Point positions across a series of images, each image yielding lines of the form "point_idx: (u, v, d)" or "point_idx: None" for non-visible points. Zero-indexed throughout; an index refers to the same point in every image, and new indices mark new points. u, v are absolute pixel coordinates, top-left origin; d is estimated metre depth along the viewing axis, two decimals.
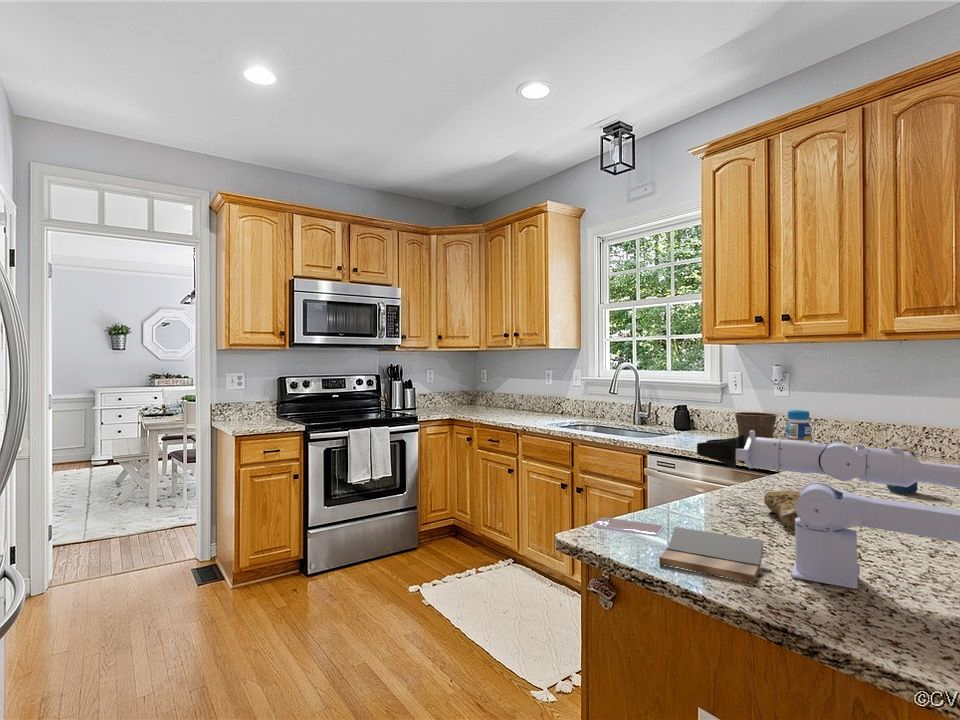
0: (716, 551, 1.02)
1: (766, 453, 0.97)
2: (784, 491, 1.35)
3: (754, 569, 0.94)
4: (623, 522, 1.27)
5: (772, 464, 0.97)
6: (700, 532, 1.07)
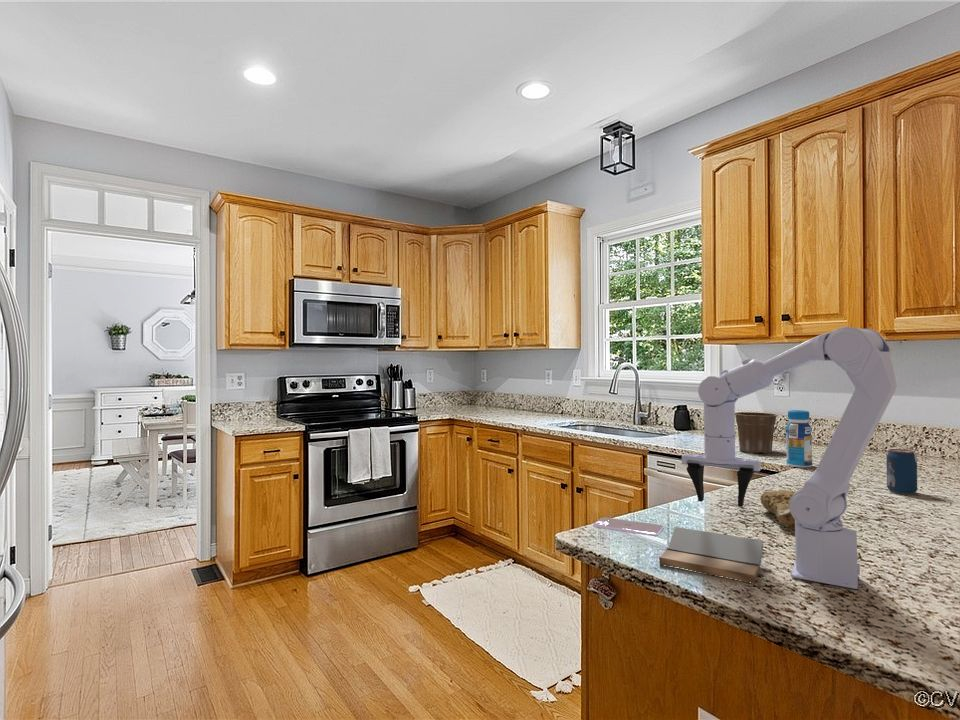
0: (716, 551, 1.02)
1: None
2: (780, 491, 1.35)
3: (754, 569, 0.94)
4: (623, 522, 1.27)
5: (705, 440, 1.09)
6: (700, 532, 1.07)
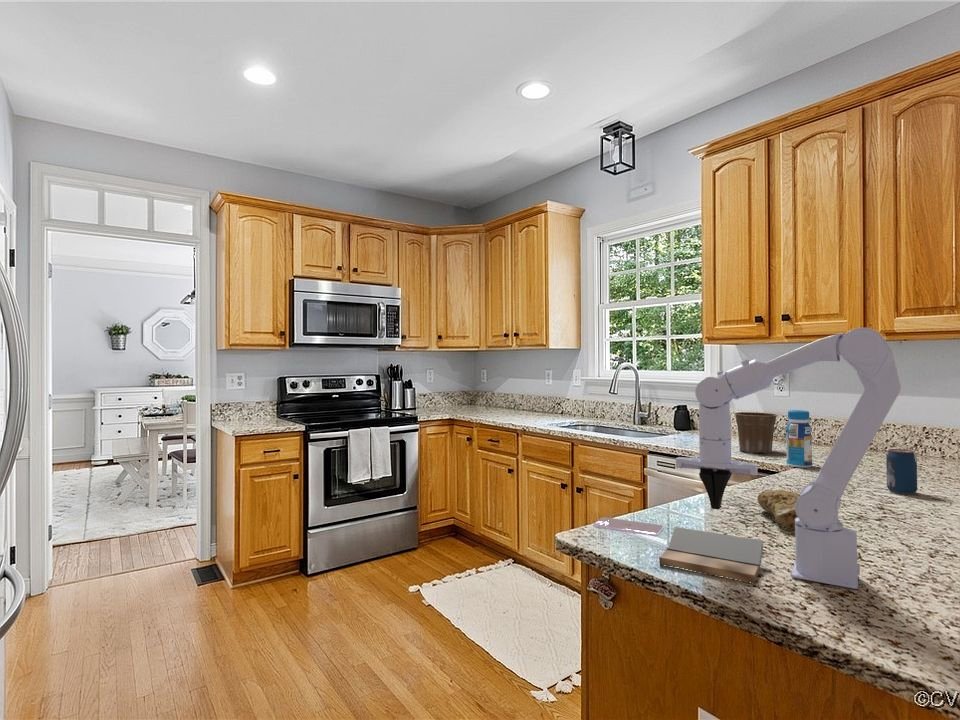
0: (716, 551, 1.02)
1: None
2: (777, 491, 1.36)
3: (754, 569, 0.94)
4: (623, 522, 1.27)
5: (700, 443, 1.05)
6: (700, 532, 1.07)
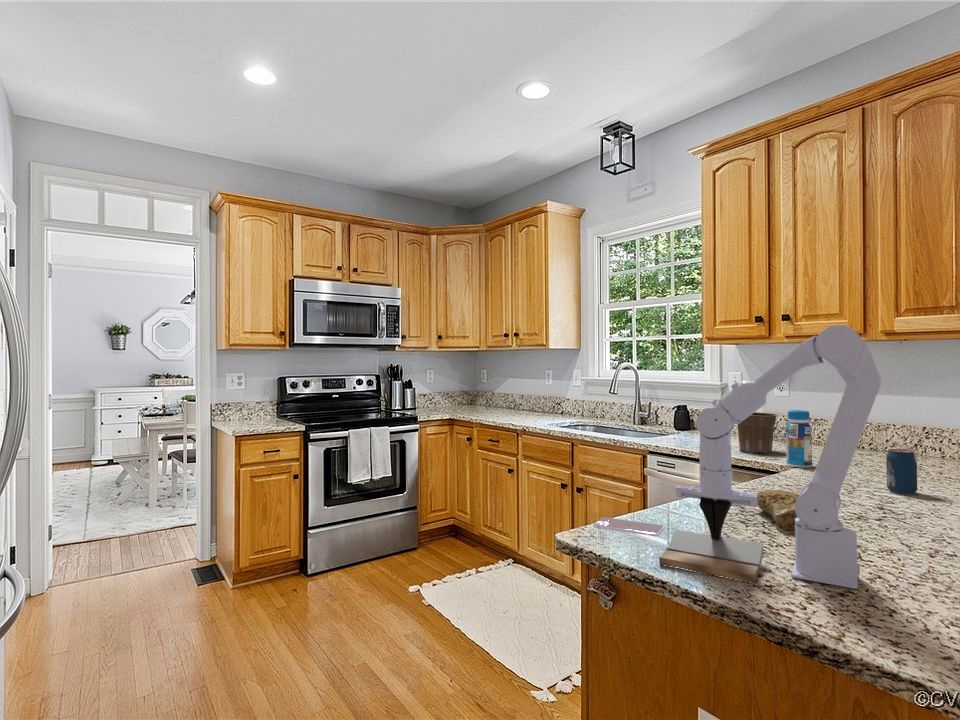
0: (716, 551, 1.02)
1: None
2: (775, 491, 1.36)
3: (754, 569, 0.94)
4: (623, 522, 1.27)
5: (701, 473, 1.05)
6: (700, 534, 1.07)
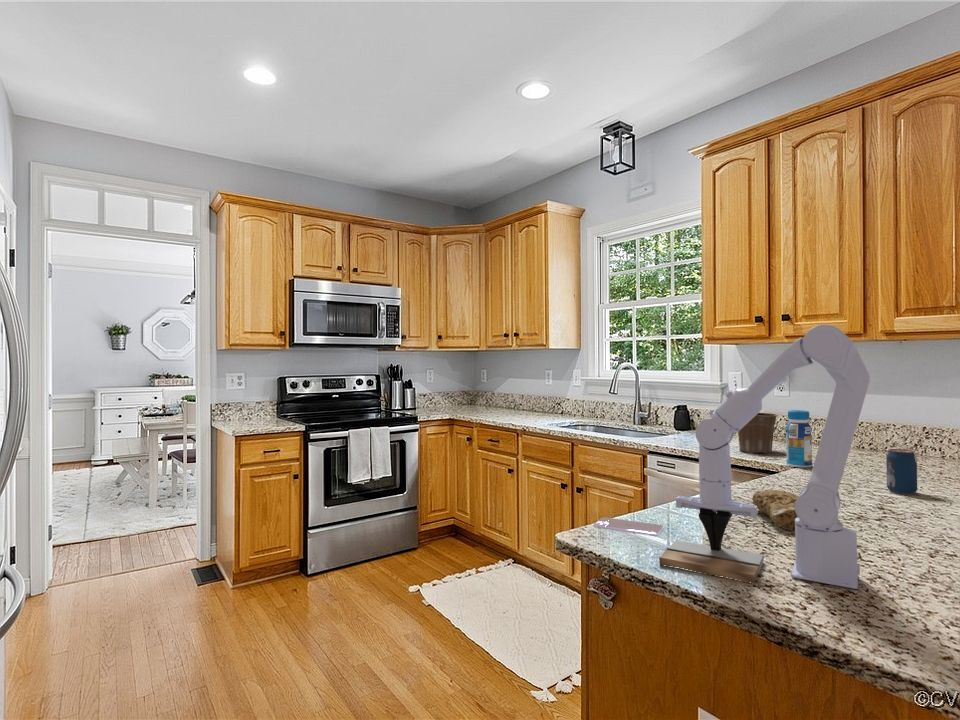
0: (716, 554, 1.02)
1: None
2: (772, 491, 1.36)
3: (754, 569, 0.94)
4: (623, 522, 1.27)
5: (700, 484, 1.05)
6: (701, 545, 1.07)
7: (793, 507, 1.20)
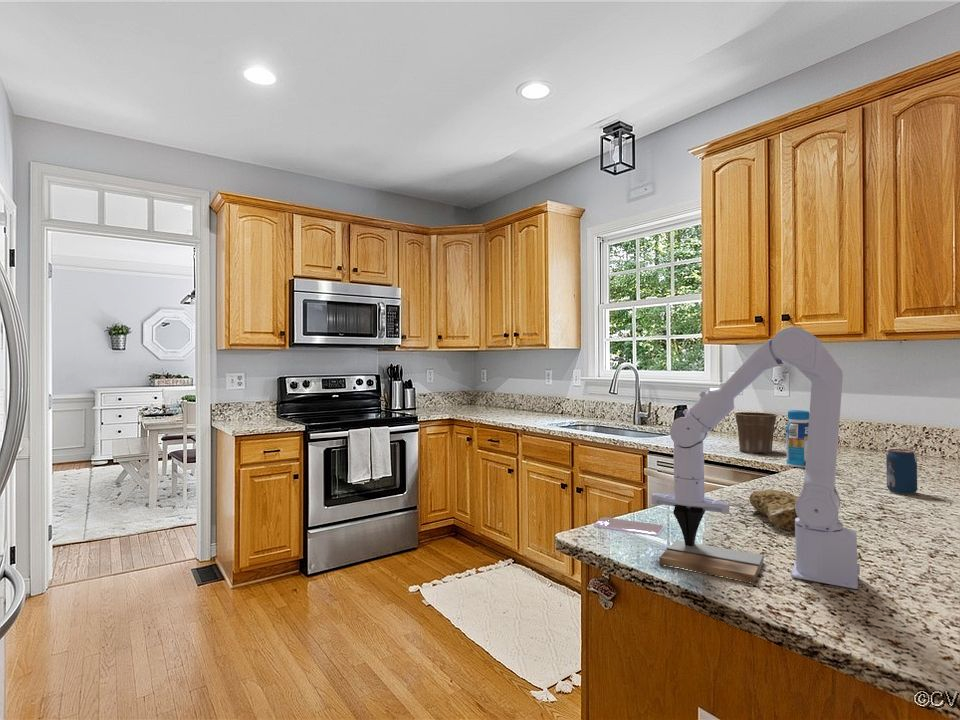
0: (716, 554, 1.02)
1: None
2: (769, 491, 1.36)
3: (754, 569, 0.94)
4: (623, 522, 1.27)
5: (675, 481, 1.08)
6: (701, 545, 1.07)
7: (791, 507, 1.20)
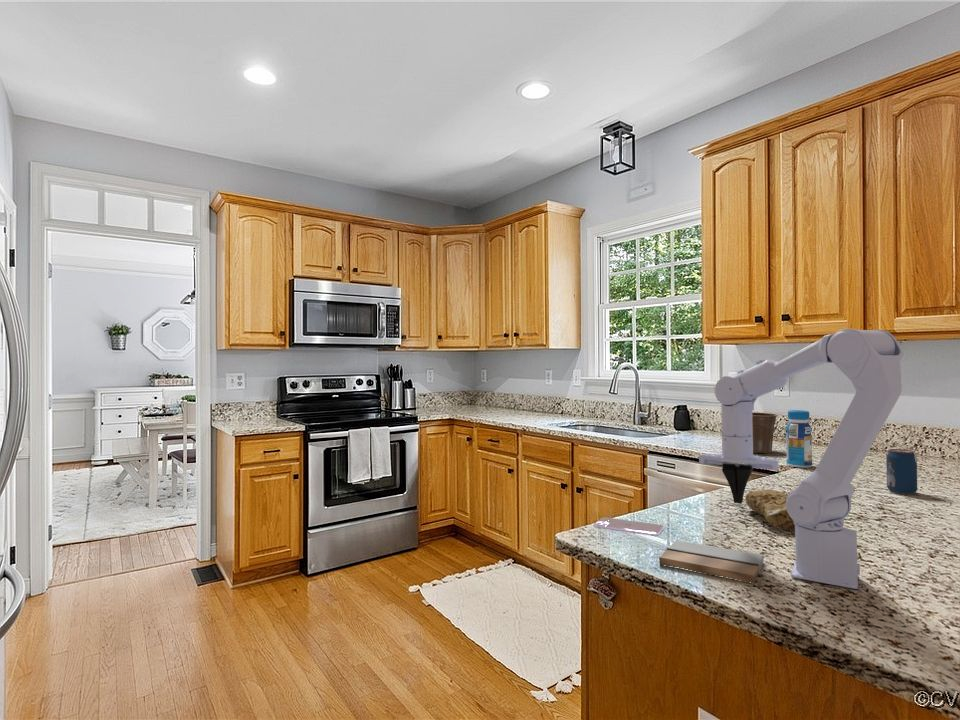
0: (716, 554, 1.02)
1: None
2: (764, 490, 1.36)
3: (754, 569, 0.94)
4: (623, 522, 1.27)
5: (723, 440, 1.10)
6: (701, 545, 1.07)
7: None
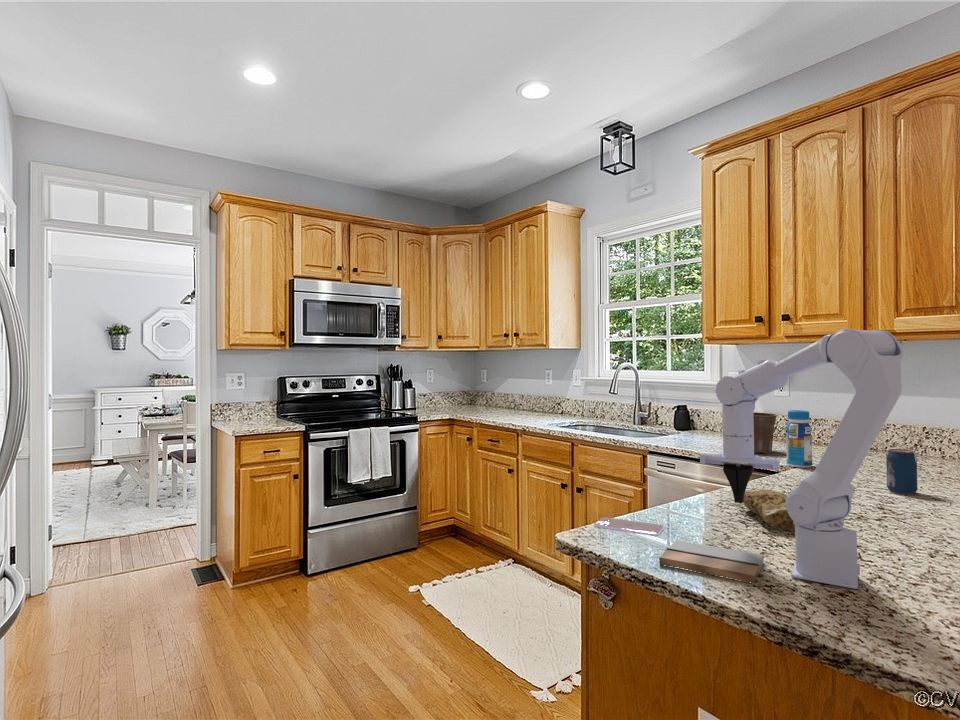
0: (716, 554, 1.02)
1: None
2: (761, 490, 1.36)
3: (754, 569, 0.94)
4: (623, 522, 1.27)
5: (724, 440, 1.10)
6: (701, 545, 1.07)
7: (785, 507, 1.20)
